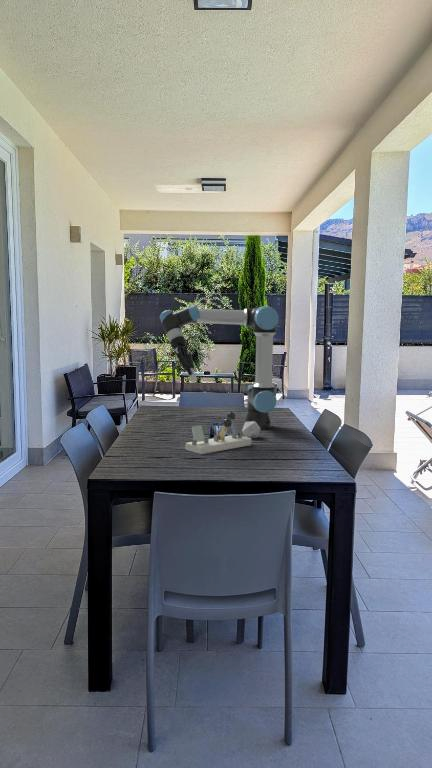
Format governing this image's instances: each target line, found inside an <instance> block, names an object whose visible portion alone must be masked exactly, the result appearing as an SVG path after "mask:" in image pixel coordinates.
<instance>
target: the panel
mask: <svg viewBox="0 0 432 768" xmlns="http://www.w3.org/2000/svg"><path fill="white" fill-rule="evenodd" d="M238 433H239V435H238V436H236V433H233V432H232V433H231V435H227V436H226V435H225V436H224V438H223V440H218V436H219V435H213V437H212V438H209V437H206V436H204V438H205V441H201V442H197V440H196V439H194V438H192V439H191V441H189V442H185V445H184V446H185V448H184V450H187V451H188V452H191V453H196V454H199V455H204V454H209V453H215V452H220V451H225V450H226V451H227V450H231V449H236V448H241V447H247V446H248V447H249V446H252V438H247V437H246V436H243V432H242V431H238Z"/></svg>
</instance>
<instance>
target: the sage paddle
mask: <svg viewBox="0 0 432 768" xmlns="http://www.w3.org/2000/svg"><path fill="white" fill-rule="evenodd" d="M190 429H191V430H192V431H191V433H192V437H193V439H196V440H197V442H201V441H205V438H204V437H205V434H204V431H203V425H196V426H195V425H193V426H191V428H190Z"/></svg>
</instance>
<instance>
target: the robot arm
mask: <svg viewBox="0 0 432 768" xmlns="http://www.w3.org/2000/svg"><path fill="white" fill-rule="evenodd" d="M159 320H160V322H161V325H162V328H163V330H164V332H165V335H166V336H167V337H166V338H167V339H168V341H169V344H170V346H171V348H172V350H173V352H174V354H175V355H176V357H177V359H178V360H179V363H180V365H181V366H182V368H183V371H186V373H187V374H188V377H189V380H190V382H191V383H194V382H196V381H198V377H197V375H196V373H195V371H194V369H195V366H194V363H193V358H192V355H191V352H188V349H187V348H186V345H187V341H186V339H185V337H184V334H183V331H182V329H181V327H183V326H185V325H187V324H188V325H189V324H211V325H212V324H214V325H219V324H220V325H240V326H241V325H243V326H244V327H247V328H253V331H252V332H253V334H254V336H255V340H256V341H255V382H254V384H249V385H248V386H247V391H246V392H247V399H246V401H247V404H246V405H247V406H246V407H247V408H246V414H245V418H244V420H243V425H244V424H245V422H256V423H257V424H258V426H259V427H260V428H261V429H260V430H266V429H271V428H272V420H271V416H270V413H269V412H272V411H273V410H274V409H275V408H276V406H277V396H276V395H275V394H276V385H274V383H273V361H274V360H273V358H274V355H273V353H274V352H273V350H274V336H275V335H276V334H277V326H278V323H279V314H278V312H277V310H276V309H274V307H271V306H269V305H263V306H258V307H253V308H248V307H246V308H244V309H217V308H216V309H213V308H198V306H197V305H196V304H193V305H191V306H190V305H189V306H188V307H185V308H182V309H181V310H178V311H175V312H174V311H173V310H171V309H168V310H167V309H166V310H164V311H162V312H161V313H160V315H159Z"/></svg>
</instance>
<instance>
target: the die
mask: <svg viewBox="0 0 432 768" xmlns="http://www.w3.org/2000/svg"><path fill="white" fill-rule="evenodd" d="M261 430H262V429H261V428H260V427H259V426H258V424H257V423H256V422H245V424H244V423H243V427H242V429H241V432H242V434H243V435H244V437H247V438H251V439H257V438H258V436H259V433H260V431H261Z"/></svg>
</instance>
